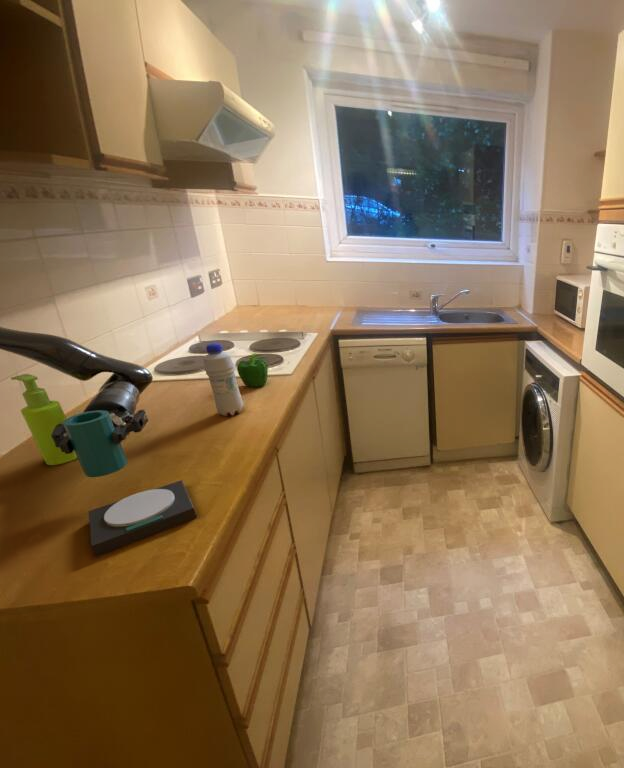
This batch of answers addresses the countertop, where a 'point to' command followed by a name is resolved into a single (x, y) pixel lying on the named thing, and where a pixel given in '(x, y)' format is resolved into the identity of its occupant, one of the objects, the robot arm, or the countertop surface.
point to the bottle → (222, 380)
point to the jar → (95, 443)
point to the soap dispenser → (43, 420)
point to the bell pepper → (253, 371)
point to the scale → (139, 516)
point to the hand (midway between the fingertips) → (91, 444)
